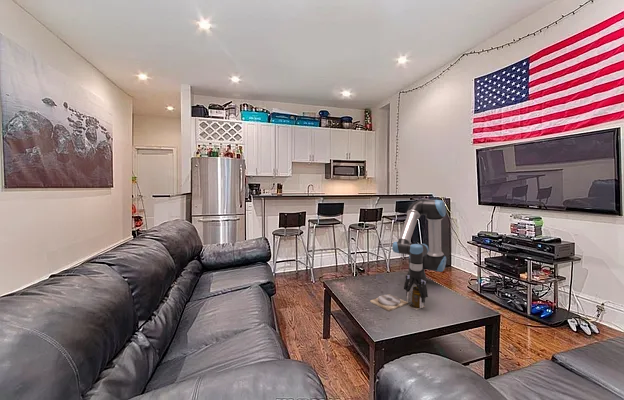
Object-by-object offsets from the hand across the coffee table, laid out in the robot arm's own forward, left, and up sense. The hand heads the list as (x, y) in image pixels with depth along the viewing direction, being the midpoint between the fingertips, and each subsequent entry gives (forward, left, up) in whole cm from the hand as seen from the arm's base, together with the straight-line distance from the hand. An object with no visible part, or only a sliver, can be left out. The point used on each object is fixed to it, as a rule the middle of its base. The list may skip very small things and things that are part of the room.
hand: (415, 304), depth 178 cm
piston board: (+10, -12, -1) cm, 16 cm away
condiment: (0, +1, -2) cm, 2 cm away
